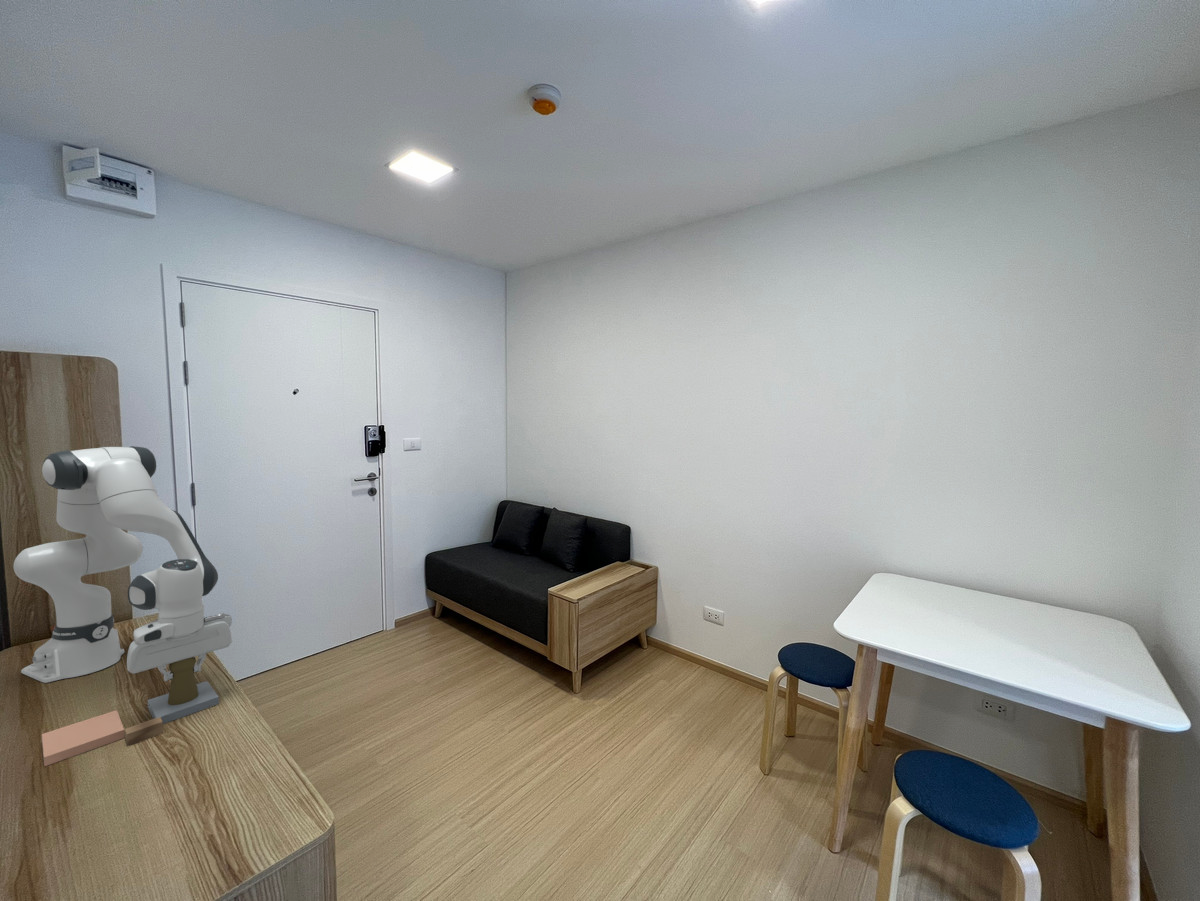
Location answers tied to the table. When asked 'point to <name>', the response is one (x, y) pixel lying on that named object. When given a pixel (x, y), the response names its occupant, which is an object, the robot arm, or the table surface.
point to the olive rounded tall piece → (182, 682)
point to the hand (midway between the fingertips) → (182, 675)
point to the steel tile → (173, 712)
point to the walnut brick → (143, 731)
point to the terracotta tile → (81, 737)
